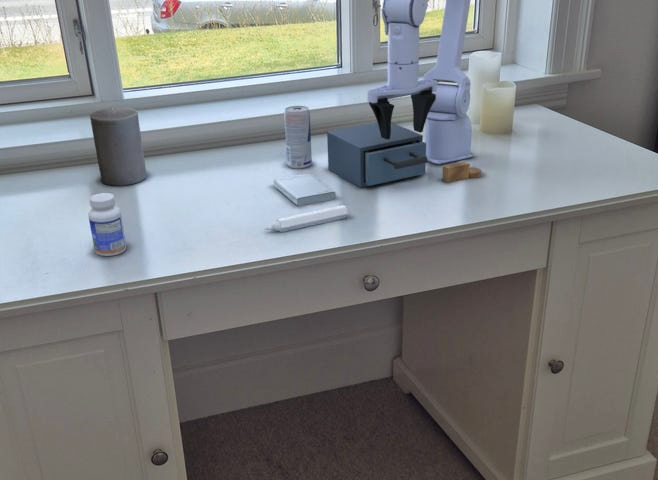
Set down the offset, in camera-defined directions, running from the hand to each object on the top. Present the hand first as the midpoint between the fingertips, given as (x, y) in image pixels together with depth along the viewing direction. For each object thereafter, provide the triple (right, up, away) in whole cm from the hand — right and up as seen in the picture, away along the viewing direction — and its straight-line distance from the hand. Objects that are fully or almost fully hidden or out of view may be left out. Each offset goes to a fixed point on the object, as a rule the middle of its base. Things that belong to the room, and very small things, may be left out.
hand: (402, 134), depth 159 cm
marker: (-18, -19, -10) cm, 29 cm away
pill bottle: (-52, -25, -17) cm, 60 cm away
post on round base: (+13, -7, +8) cm, 17 cm away
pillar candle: (-57, -5, +16) cm, 60 cm away
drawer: (-2, -6, +9) cm, 11 cm away
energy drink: (-20, -2, +19) cm, 28 cm away
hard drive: (-19, -11, +4) cm, 22 cm away
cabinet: (-4, -4, +13) cm, 15 cm away
